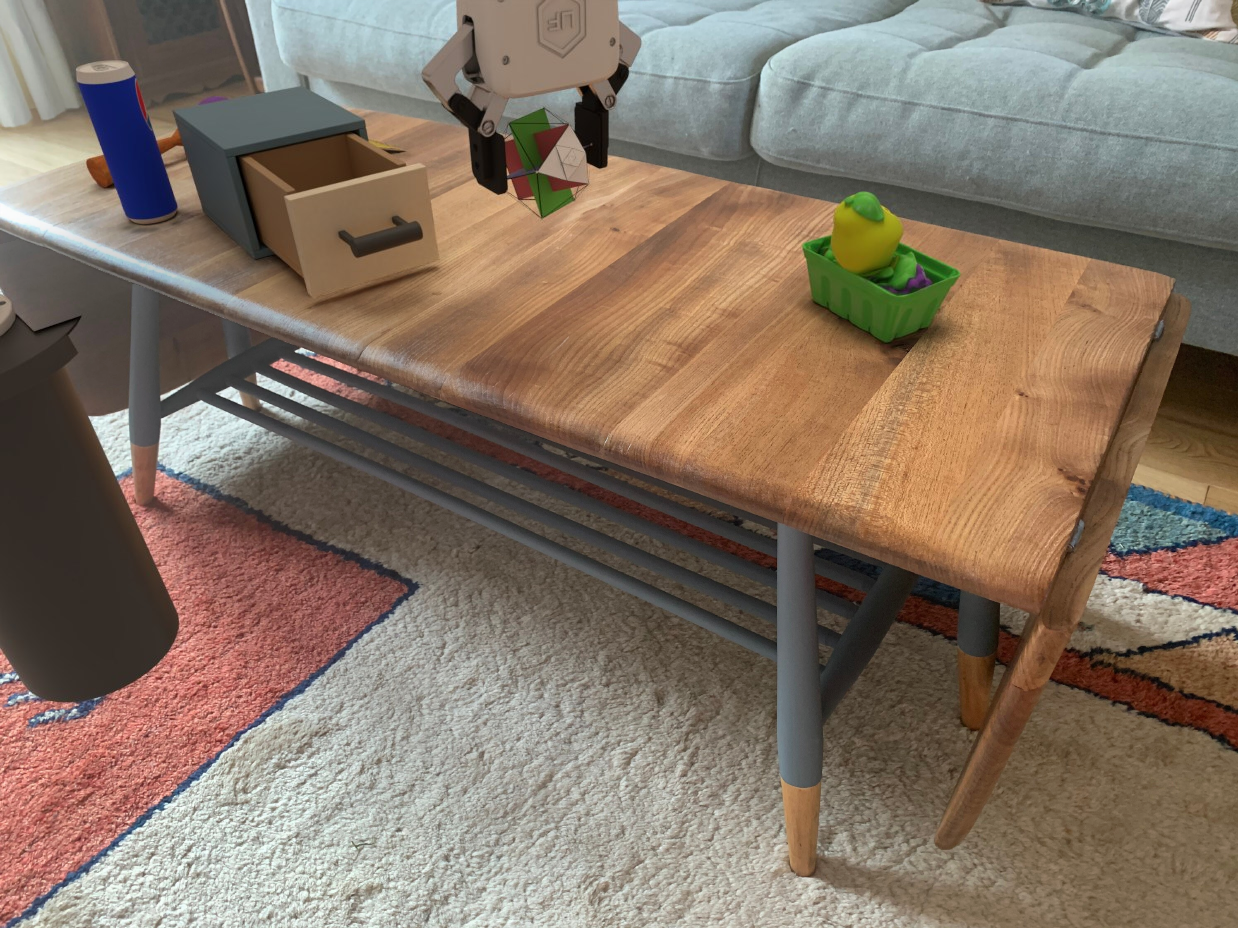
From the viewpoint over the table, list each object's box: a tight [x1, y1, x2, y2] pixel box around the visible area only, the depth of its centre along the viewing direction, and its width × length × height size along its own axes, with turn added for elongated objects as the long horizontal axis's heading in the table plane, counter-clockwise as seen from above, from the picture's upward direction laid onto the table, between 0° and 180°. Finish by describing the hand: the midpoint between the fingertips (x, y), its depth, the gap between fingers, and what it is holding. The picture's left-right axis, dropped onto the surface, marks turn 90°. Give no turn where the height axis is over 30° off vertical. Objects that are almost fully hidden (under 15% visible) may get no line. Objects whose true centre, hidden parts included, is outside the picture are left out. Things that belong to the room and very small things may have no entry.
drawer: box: [237, 131, 440, 299], centre depth 81 cm, size 19×12×9 cm, turn 38°
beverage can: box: [75, 59, 179, 225], centre depth 91 cm, size 5×5×15 cm
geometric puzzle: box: [502, 106, 592, 221], centre depth 63 cm, size 7×7×8 cm
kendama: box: [85, 95, 230, 188], centre depth 107 cm, size 6×6×20 cm
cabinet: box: [171, 85, 369, 260], centre depth 91 cm, size 16×14×11 cm
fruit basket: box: [801, 191, 962, 343], centre depth 72 cm, size 11×9×11 cm
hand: (543, 174), depth 64 cm, fingers closed on geometric puzzle, 8 cm apart
